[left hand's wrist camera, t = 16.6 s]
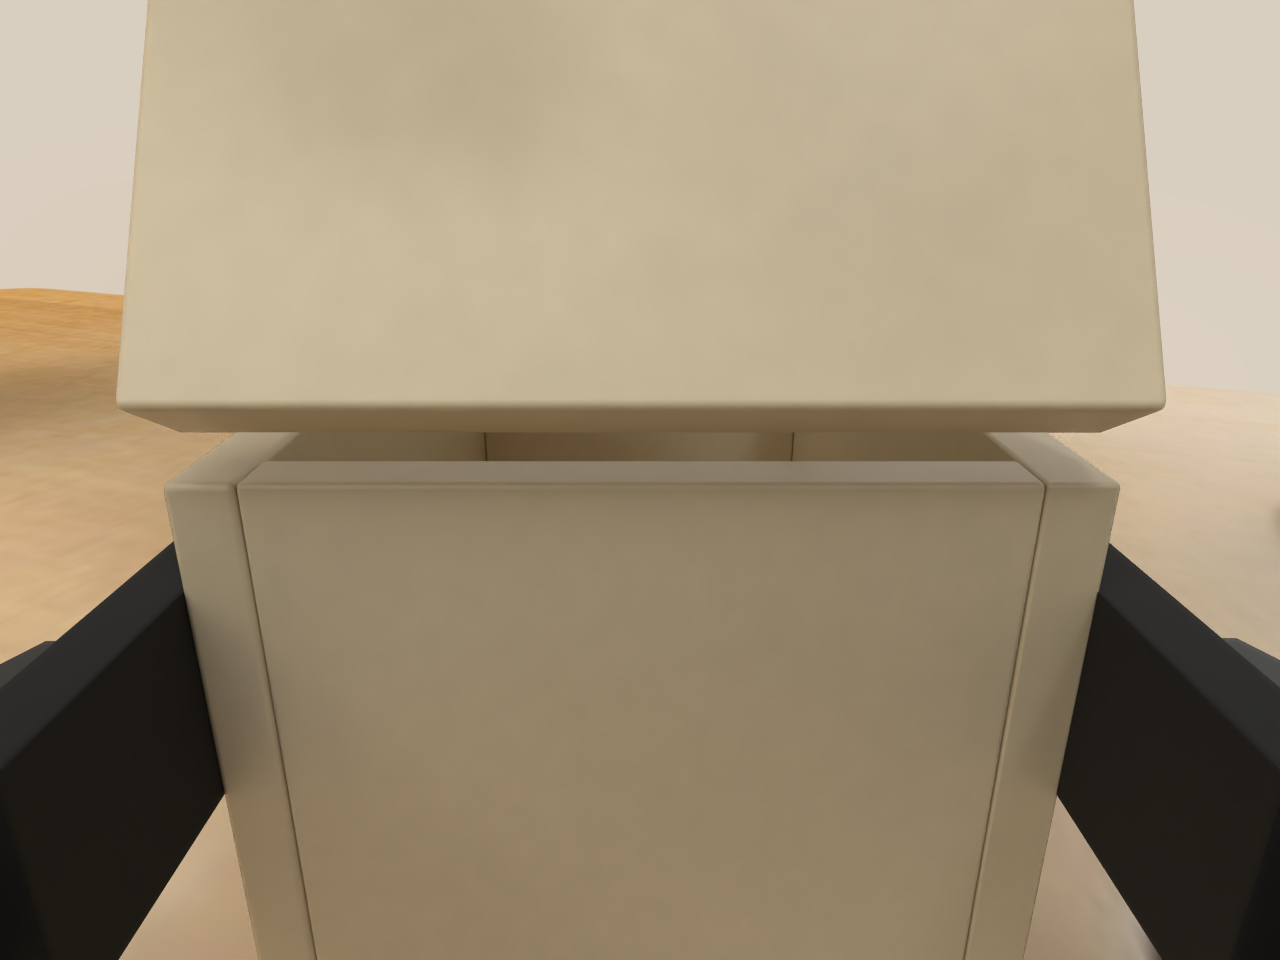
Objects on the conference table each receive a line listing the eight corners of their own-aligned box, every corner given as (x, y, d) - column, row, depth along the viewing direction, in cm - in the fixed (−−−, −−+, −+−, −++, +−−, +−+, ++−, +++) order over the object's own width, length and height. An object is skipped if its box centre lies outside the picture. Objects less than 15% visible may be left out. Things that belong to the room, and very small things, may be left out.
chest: (473, 593, 27) (450, 275, 23) (804, 593, 27) (828, 276, 23) (285, 1108, 12) (157, 484, 9) (994, 1107, 13) (1123, 484, 9)
